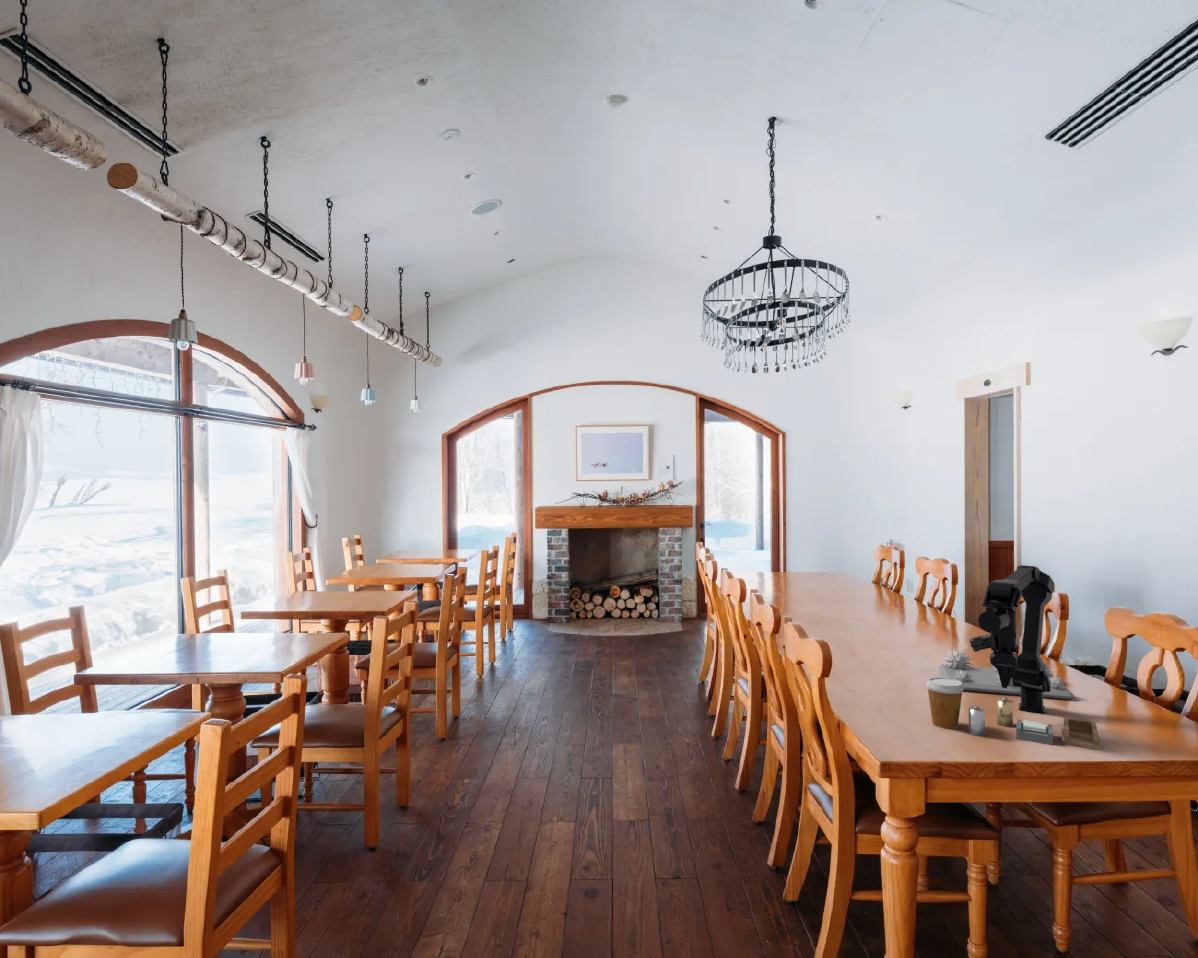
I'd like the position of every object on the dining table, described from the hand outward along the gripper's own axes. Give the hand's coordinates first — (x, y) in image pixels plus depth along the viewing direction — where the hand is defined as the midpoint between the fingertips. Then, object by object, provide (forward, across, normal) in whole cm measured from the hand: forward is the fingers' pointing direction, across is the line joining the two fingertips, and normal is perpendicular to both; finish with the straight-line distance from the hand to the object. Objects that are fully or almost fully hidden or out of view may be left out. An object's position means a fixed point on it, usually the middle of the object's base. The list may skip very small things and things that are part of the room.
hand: (1005, 683), depth 192 cm
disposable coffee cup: (+11, +9, -14) cm, 20 cm away
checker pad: (+9, +7, +7) cm, 13 cm away
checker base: (+11, +7, +7) cm, 15 cm away
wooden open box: (+11, +4, +17) cm, 21 cm away
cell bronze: (+11, 0, 0) cm, 11 cm away
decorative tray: (+12, -43, -3) cm, 45 cm away
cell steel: (+11, +12, -6) cm, 18 cm away
